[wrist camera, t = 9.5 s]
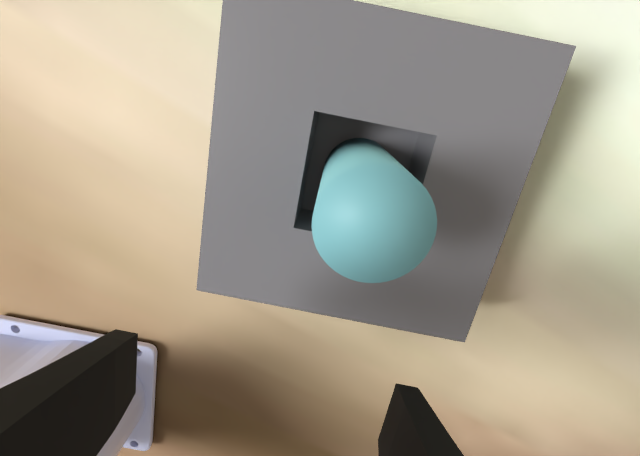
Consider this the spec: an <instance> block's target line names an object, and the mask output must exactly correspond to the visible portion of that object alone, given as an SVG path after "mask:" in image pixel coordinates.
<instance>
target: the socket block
mask: <svg viewBox="0 0 640 456" xmlns="http://www.w3.org/2000/svg"><path fill="white" fill-rule="evenodd" d="M575 48H576V46H573V45H568V44H563V43H558V42H553V41H549V40H544V39H539V38H534V37H529V36H524V35H519V34H514V33H510V32H505V31H500V30H495V29H490V28H485V27H480V26H475V25H470V24H466V23H461V22H456V21H451V20H446V19H441V18H436V17H431V16H427V15H422V14H417V13H412V12H407V11H402V10H397V9H392V8H387V7H383V6H378V5H373V4H368V3H363V2H358V1H353V0H223V5H222V16H221V27H220V38H219V49H218V60H217V71H216V82H215V93H214V104H213V115H212V126H211V137H210V148H209V159H208V170H207V181H206V192H205V203H204V214H203V225H202V236H201V247H200V258H199V269H198V280H197V290H198V291H203V292H208V293H214V294H219V295H224V296H229V297H234V298H239V299H244V300H249V301H255V302H260V303H265V304H270V305H275V306H280V307H285V308H291V309H296V310H301V311H306V312H311V313H316V314H321V315H327V316H332V317H337V318H342V319H347V320H352V321H357V322H363V323H368V324H373V325H378V326H383V327H388V328H393V329H398V330H404V331H409V332H414V333H419V334H424V335H429V336H434V337H440V338H445V339H450V340H455V341H460V342H465V340H466V337H467V334H468V332H469V329H470V326H471V324H472V321H473V319H474V316H475V313H476V311H477V308H478V305H479V303H480V300H481V297H482V295H483V292H484V289H485V287H486V284H487V281H488V279H489V276H490V273H491V271H492V268H493V266H494V263H495V260H496V258H497V255H498V252H499V250H500V247H501V244H502V242H503V239H504V236H505V234H506V231H507V228H508V226H509V223H510V220H511V218H512V215H513V212H514V210H515V207H516V205H517V202H518V199H519V197H520V194H521V191H522V189H523V186H524V183H525V181H526V178H527V175H528V173H529V170H530V167H531V165H532V162H533V159H534V157H535V154H536V151H537V149H538V146H539V144H540V141H541V138H542V136H543V133H544V130H545V128H546V125H547V122H548V120H549V117H550V114H551V112H552V109H553V106H554V104H555V101H556V98H557V96H558V93H559V90H560V88H561V85H562V83H563V80H564V77H565V75H566V72H567V69H568V67H569V64H570V61H571V59H572V56H573V53H574V51H575ZM352 138H366V139H370V140H373V141H375V142H376V143H378V144H379V145H381V146H382V147H383V148H384V149H385V150H386V151H387V152H388V153H389V154H390V155H391V156H393V157H394V158H395V159H396V160H397V161H398V162H399V163H400V164H401V165H402V166H403V167H404V168H405V169H407V170H408V171H409V172H410V173H411V174H412V175H413V176H414V177H415V178H416V179H417V180H418V181H420V182H421V183H422V184H423V186H424V187H425V188H426V189H427V191H428V192H429V194H430V196H431V198H432V200H433V202H434V205H435V209H436V214H437V230H436V236H435V239H434V242H433V244H432V247H431V249H430V251H429V252H428V254H427V255H426V257H425V258H424V259H423V260H422V262H421V263H420V264H419V265H418V266H416V267H415V268H414V269H413V270H411V271H410V272H409V273H407V274H405V275H403V276H402V277H399V278H397V279H394V280H391V281H387V282H381V283H363V282H358V281H354V280H351V279H348V278H346V277H344V276H342V275H340V274H339V273H337V272H335V271H334V270H333V269H332V268H331V267H329V266H328V265H327V263H326V262H325V261H324V260H323V259H322V257H321V256H320V254H319V252H318V250H317V249H316V246H315V243H314V240H313V235H312V216H313V211H314V207H315V203H316V199H317V194H318V190H319V186H320V182H321V178H322V174H323V169H324V165H325V162H326V159H327V157H328V155H329V154H330V152H331V151H332V150H333V149H334V148H335V147H336V146H337V145H338V144H340V143H341V142H343V141H345V140H348V139H352Z"/></svg>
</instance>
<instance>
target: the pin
mask: <svg viewBox="0 0 640 456" xmlns="http://www.w3.org/2000/svg"><path fill="white" fill-rule="evenodd" d="M436 230H437V214H436V209H435V205H434V202H433V200H432V198H431V196H430V194H429V192H428V191H427V189H426V188H425V187H424V186H423V184H422V183H421V182H420V181H418V180H417V179H416V178H415V177H414V176H413V175H412V174H411V173H410V172H409V171H408V170H407V169H405V168H404V167H403V166H402V165H401V164H400V163H399V162H398V161H397V160H396V159H395V158H394V157H393V156H391V155H390V154H389V153H388V152H387V151H386V150H385V149H384V148H383V147H382V146H381V145H379V144H378V143H376V142H375V141H373V140H370V139H366V138H352V139H348V140H345V141H343V142H341V143H340V144H338V145H337V146H336V147H335V148H334V149H333V150H332V151H331V152H330V154H329V155H328V157H327V159H326V162H325V165H324V169H323V174H322V178H321V182H320V186H319V190H318V194H317V199H316V203H315V207H314V211H313V216H312V235H313V240H314V243H315V246H316V249H317V250H318V252H319V254H320V256H321V257H322V259H323V260H324V261H325V262H326V263H327V265H328V266H329V267H331V268H332V269H333V270H334V271H335V272H337V273H339V274H340V275H342V276H344V277H346V278H348V279H351V280H354V281H358V282H363V283H381V282H387V281H391V280H394V279H397V278H399V277H402V276H403V275H405V274H407V273H409V272H410V271H411V270H413V269H414V268H415V267H416V266H418V265H419V264H420V263H421V262H422V260H423V259H424V258H425V257H426V255H427V254H428V252H429V251H430V249H431V247H432V244H433V242H434V239H435V236H436Z"/></svg>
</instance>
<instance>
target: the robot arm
mask: <svg viewBox="0 0 640 456" xmlns="http://www.w3.org/2000/svg"><path fill="white" fill-rule="evenodd" d="M17 326H18V327H19V328H18V327H17ZM137 340H138V334H136V333H131V332H126V331H121V330H114V331H112V332H110V333H108V334H106V335H104V334H99V333H94V332H88V331H83V330H78V329H73V328H68V327H62V326H57V325H52V324H47V323H42V322H37V321H31V320H26V319H21V318H16V317H11V316H5V315H0V456H117V455H118V453H119V452H120V450H121V448H122V447H125V448H130V449H135V450H141V451H146V450H148V449H149V448H150V447H151V445H152V442H153V424H154V406H155V388H156V370H157V348H156V347H155V346H154V345H153V344H150V343H146V342H140V341H137ZM137 349H139V350H140V351H141V352H139V351H138V350H137ZM378 448H379V456H464V455H463V454H462V452H461V451H460V450H459V448H458V447H457V445H456V444H455V442H454V441H453V440H452V438H451V437H450V435H449V434H448V432H447V431H446V429H445V428H444V426H443V425H442V423H441V422H440V420H439V419H438V417H437V416H436V414H435V413H434V411H433V410H432V408H431V407H430V405H429V404H428V402H427V401H426V399H425V398H424V396H423V395H422V393H421V392H420V390H419V389H418V388H416V387H411V386H406V385H401V384H396V385H395V389H394V392H393V395H392V398H391V401H390V404H389V407H388V411H387V414H386V417H385V420H384V423H383V426H382V429H381V432H380V436H379V439H378Z"/></svg>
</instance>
